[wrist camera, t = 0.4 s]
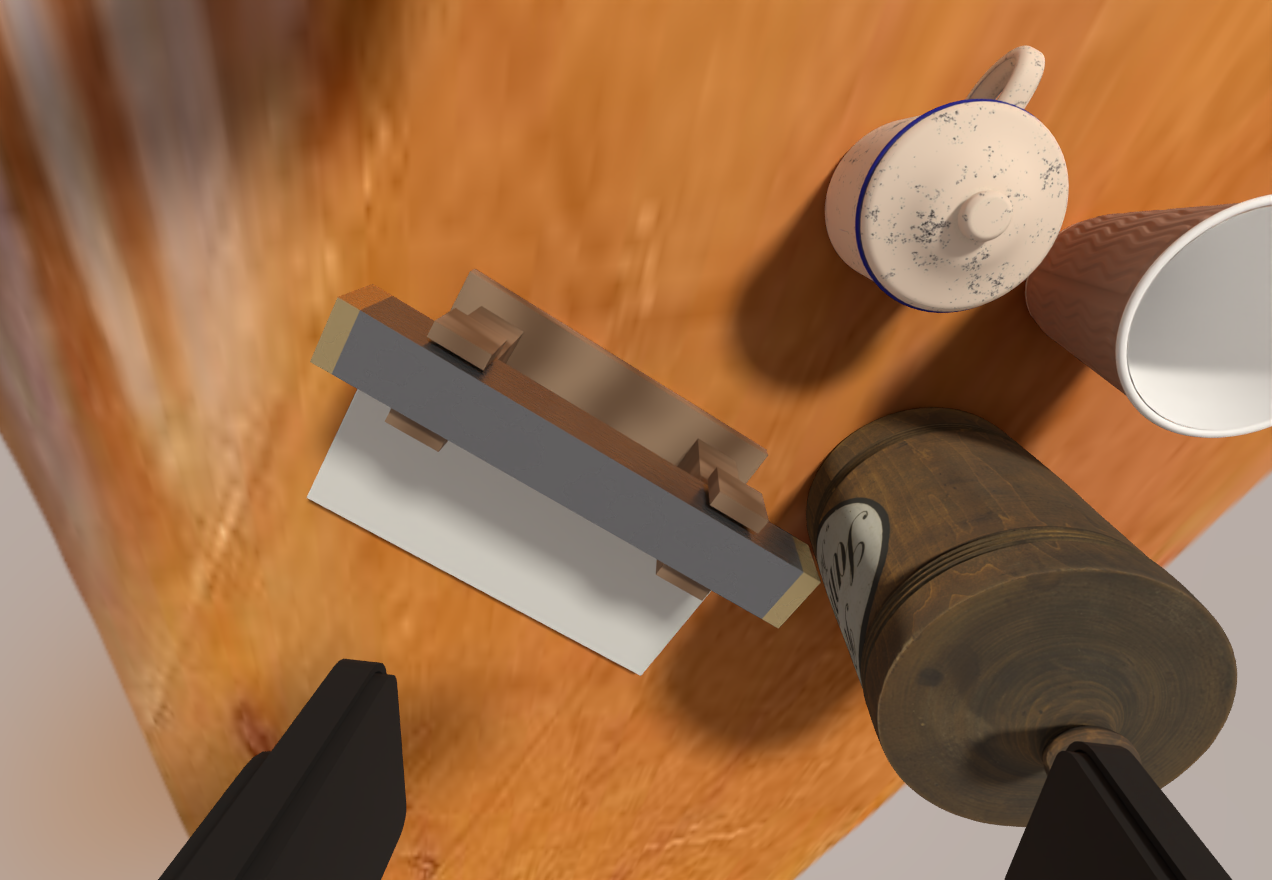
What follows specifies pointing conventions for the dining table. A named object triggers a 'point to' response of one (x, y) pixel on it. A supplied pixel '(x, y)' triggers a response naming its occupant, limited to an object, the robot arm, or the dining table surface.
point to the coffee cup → (1169, 311)
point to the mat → (500, 537)
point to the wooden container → (1004, 617)
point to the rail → (562, 454)
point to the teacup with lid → (954, 195)
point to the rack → (600, 398)
